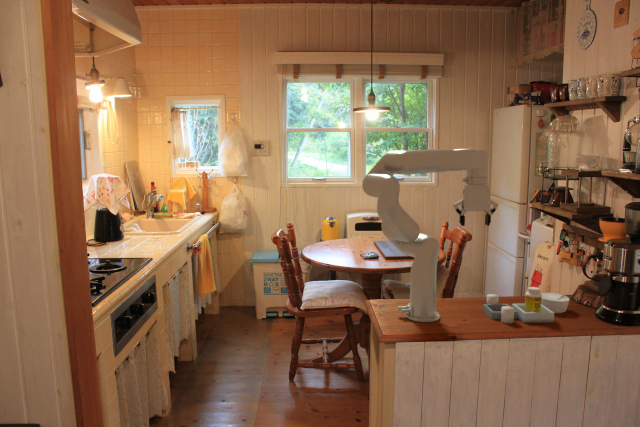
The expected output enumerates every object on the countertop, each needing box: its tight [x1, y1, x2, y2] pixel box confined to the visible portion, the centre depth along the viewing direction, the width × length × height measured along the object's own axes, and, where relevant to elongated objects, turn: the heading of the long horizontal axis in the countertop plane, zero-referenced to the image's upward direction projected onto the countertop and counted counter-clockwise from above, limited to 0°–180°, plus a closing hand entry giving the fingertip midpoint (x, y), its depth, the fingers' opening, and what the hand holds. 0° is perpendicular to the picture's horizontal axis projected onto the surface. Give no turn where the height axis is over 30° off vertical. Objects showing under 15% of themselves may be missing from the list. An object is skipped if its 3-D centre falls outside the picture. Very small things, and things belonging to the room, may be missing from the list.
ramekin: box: [540, 292, 570, 314], centre depth 189 cm, size 11×11×5 cm
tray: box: [511, 303, 555, 324], centre depth 181 cm, size 11×11×4 cm
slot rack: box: [482, 293, 518, 324], centre depth 184 cm, size 10×19×5 cm, turn 1°
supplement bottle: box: [524, 286, 542, 312], centre depth 180 cm, size 6×6×10 cm
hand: (474, 225), depth 188 cm, fingers open, 9 cm apart
